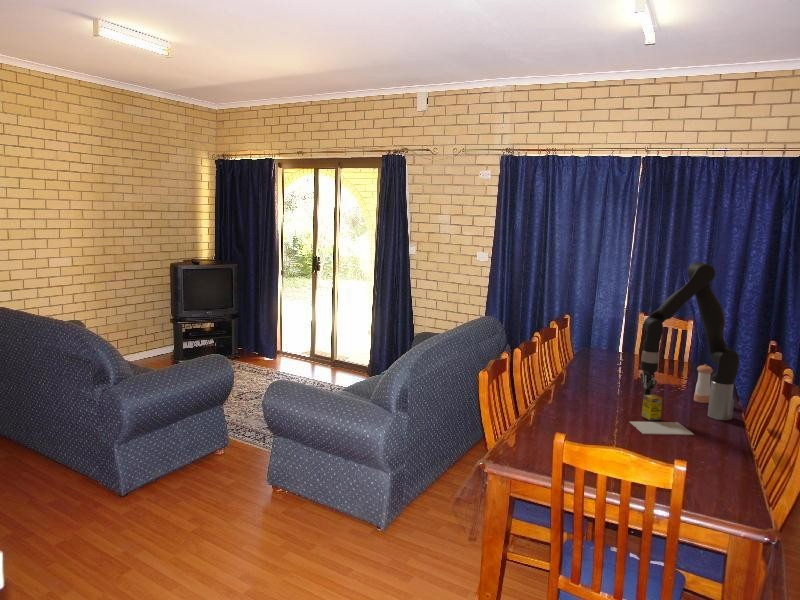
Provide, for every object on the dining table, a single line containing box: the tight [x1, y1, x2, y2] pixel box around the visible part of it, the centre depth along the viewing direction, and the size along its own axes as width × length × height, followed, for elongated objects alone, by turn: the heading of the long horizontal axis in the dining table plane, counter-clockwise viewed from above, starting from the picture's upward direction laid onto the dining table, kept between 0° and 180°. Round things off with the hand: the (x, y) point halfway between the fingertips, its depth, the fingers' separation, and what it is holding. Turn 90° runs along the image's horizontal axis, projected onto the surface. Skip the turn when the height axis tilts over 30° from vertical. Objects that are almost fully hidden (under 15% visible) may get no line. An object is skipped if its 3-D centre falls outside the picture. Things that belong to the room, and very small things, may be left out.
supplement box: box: [641, 393, 663, 422], centre depth 264 cm, size 6×6×11 cm
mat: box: [629, 421, 695, 436], centre depth 253 cm, size 22×14×1 cm, turn 91°
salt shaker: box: [693, 363, 714, 404], centre depth 292 cm, size 7×7×19 cm
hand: (646, 396), depth 270 cm, fingers closed
